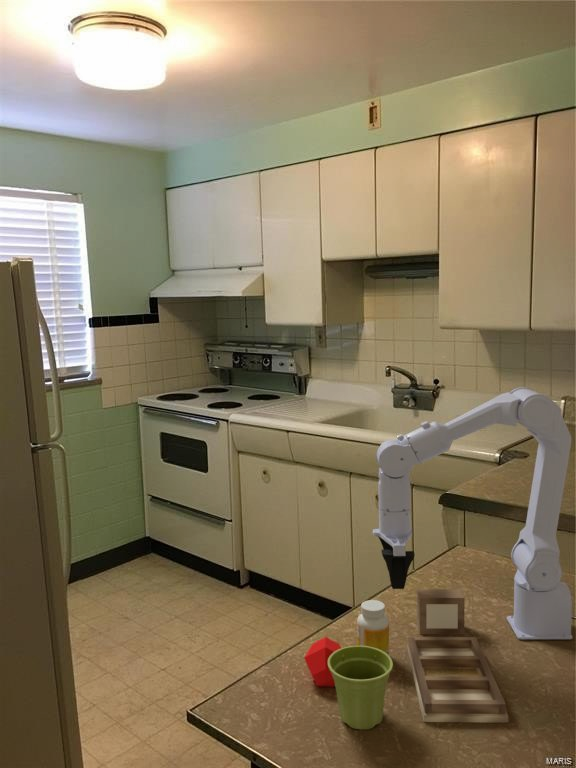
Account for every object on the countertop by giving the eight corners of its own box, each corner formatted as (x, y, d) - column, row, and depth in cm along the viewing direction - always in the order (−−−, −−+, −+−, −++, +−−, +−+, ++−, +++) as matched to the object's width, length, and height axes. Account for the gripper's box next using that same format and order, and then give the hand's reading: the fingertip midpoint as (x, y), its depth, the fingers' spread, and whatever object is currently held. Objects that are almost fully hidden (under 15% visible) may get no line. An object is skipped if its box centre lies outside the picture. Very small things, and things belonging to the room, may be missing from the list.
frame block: (460, 625, 123) (460, 589, 122) (464, 634, 120) (464, 598, 119) (417, 625, 124) (416, 589, 123) (419, 634, 120) (419, 598, 119)
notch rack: (476, 649, 115) (476, 635, 114) (508, 722, 95) (508, 706, 94) (406, 649, 115) (406, 635, 115) (423, 721, 95) (423, 705, 95)
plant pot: (329, 738, 93) (328, 680, 91) (328, 698, 102) (327, 645, 101) (396, 738, 92) (396, 680, 91) (389, 698, 101) (388, 644, 100)
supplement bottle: (350, 657, 113) (350, 604, 112) (372, 646, 116) (372, 594, 115) (374, 670, 109) (373, 615, 108) (395, 659, 112) (395, 605, 111)
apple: (343, 665, 101) (342, 623, 108) (300, 670, 102) (302, 628, 109) (352, 694, 104) (351, 652, 111) (310, 698, 106) (312, 656, 113)
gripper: (369, 495, 127) (370, 563, 128) (375, 520, 112) (376, 596, 114) (406, 495, 126) (407, 563, 128) (417, 520, 112) (418, 596, 114)
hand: (395, 579), depth 121 cm, fingers open, 7 cm apart
